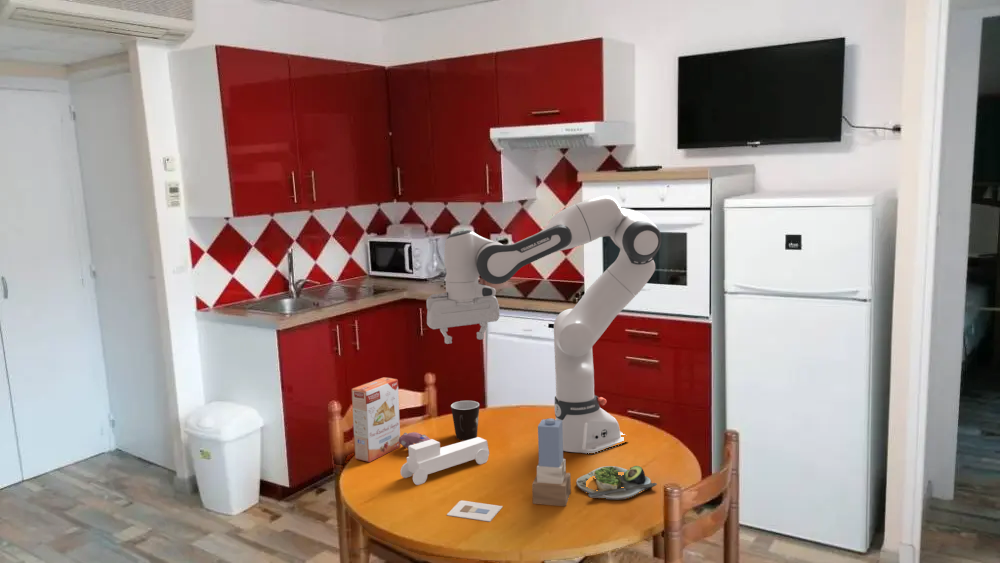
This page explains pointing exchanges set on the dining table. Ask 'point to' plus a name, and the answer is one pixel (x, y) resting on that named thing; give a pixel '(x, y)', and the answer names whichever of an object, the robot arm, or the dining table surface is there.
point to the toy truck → (441, 457)
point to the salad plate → (616, 482)
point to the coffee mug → (465, 419)
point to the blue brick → (550, 442)
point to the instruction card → (475, 510)
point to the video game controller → (412, 439)
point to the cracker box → (376, 418)
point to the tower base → (552, 485)
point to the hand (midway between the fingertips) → (464, 341)
